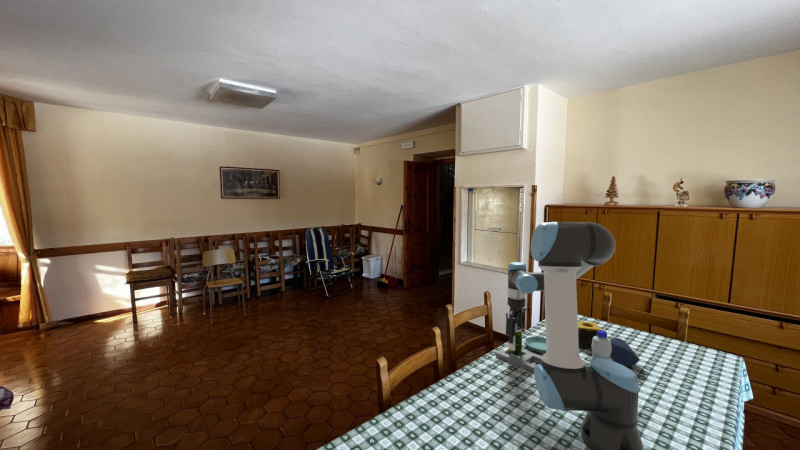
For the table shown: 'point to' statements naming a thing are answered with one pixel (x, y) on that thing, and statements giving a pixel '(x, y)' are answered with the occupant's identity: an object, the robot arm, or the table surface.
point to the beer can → (517, 342)
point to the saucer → (536, 344)
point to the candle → (587, 333)
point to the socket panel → (520, 361)
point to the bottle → (601, 346)
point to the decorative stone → (622, 353)
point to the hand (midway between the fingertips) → (515, 347)
